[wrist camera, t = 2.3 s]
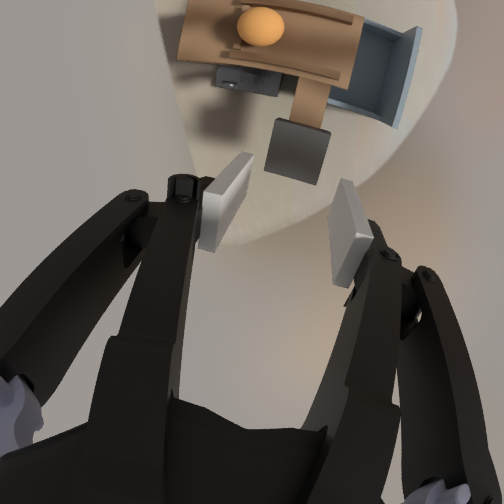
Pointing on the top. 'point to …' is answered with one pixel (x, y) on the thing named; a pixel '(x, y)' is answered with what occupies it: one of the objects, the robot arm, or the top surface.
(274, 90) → the lever stand
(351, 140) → the top surface
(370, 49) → the bin
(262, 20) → the ball
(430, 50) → the top surface
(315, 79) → the lever
